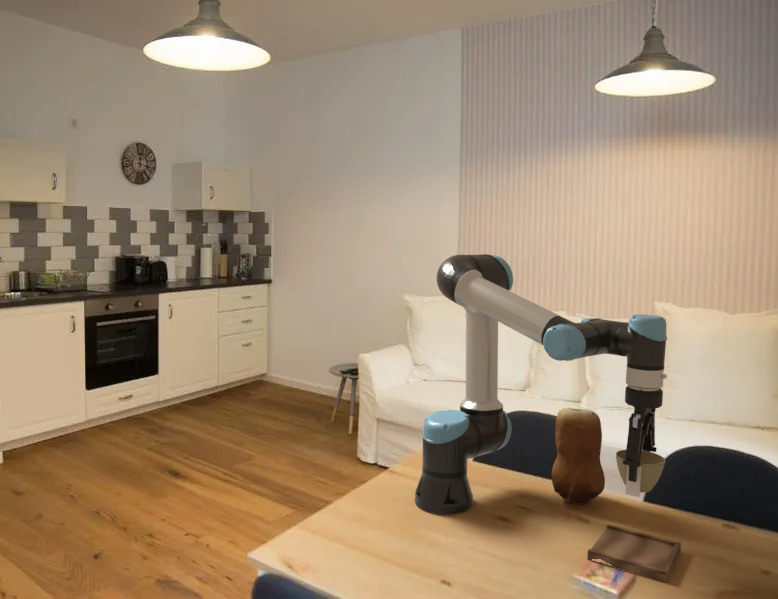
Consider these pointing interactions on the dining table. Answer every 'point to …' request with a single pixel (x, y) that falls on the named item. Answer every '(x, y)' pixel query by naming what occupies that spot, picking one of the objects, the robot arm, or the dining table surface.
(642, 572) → the walnut board
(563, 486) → the butternut squash
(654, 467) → the flower pot
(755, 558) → the dining table surface
